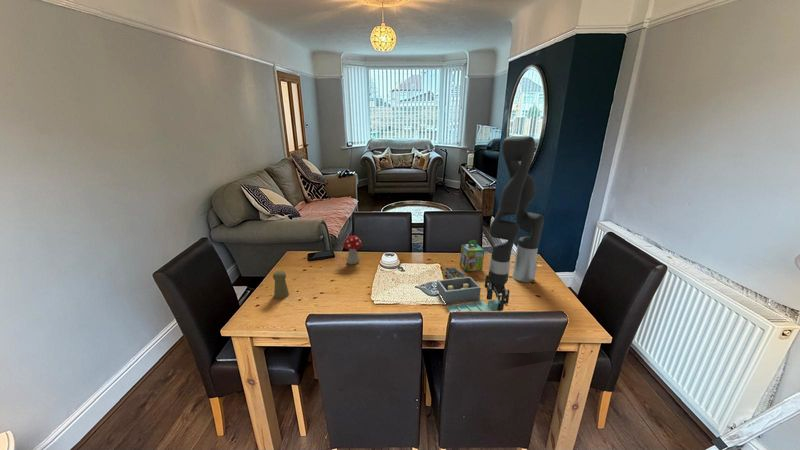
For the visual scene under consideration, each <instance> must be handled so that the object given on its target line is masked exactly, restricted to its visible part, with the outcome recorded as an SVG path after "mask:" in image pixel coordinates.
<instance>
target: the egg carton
mask: <svg viewBox="0 0 800 450" xmlns="http://www.w3.org/2000/svg"><path fill="white" fill-rule="evenodd" d="M443 269H444V276H447V279H454V278H463V277H465V276H466V272H464V271H462V270H460V269H458V268H457V267H455V266H454V267H453V266H451V267H450V266H449V267H443ZM455 275H456V276H455ZM457 276H458V277H457Z"/></svg>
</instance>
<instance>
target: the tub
mask: <svg viewBox="0 0 800 450" xmlns="http://www.w3.org/2000/svg"><path fill="white" fill-rule="evenodd" d="M437 290H438V291H439V293H440V295H441V296H442V298H443V300H444V301H445V303H446V304H445V305H451V304H452V305H453V304H457V303H458V304H460V303H468V302H472V301H473V302H475V301H481V300H480V298H481V290H482V287H481V285H479V284H478V283H477V282H476V281H475V280H474V279H473V278H472V277H471V276H464V277H463V278H457V277H456V278H454V279H449V278H447V279H439V280H436V291H437Z"/></svg>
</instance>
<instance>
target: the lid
mask: <svg viewBox="0 0 800 450" xmlns="http://www.w3.org/2000/svg"><path fill="white" fill-rule="evenodd" d="M497 307H498V298H497V299H491V300H487V303H486V302H485V301H484V300H477V301H473V302H472V301H470V302H463V303H458V304H457V303H454V304H452V305H451V304H449V305H446V306H445V308H446V309H447V311H448V310H449V311H450V312H453V311H454V312H456V311H461V312H462V311H493V312H497V311H498V310H497ZM449 311H448V312H449ZM450 312H449V313H450ZM498 312H499V311H498Z"/></svg>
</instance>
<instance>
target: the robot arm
mask: <svg viewBox="0 0 800 450" xmlns="http://www.w3.org/2000/svg"><path fill="white" fill-rule="evenodd" d="M535 150H536V142H535V139H534V137H533V136H530V135H524V136H522V135H521V136H507V137H506V138H504V139H503V143H502V156H503V161H504V162H505V163H504V164H505V166H506V169H507V173H508V176H509V181H508V182H507V183H506V185H505V186H504V187H503V189H502V191H501V195H500V199H499V200H500V201H499V206H498V209H497V211H496V214H495V216H494V219H493V220H492V222H491V224H490V227H489V233H490V236H491V237H492V238H495V239H501V240H506V241H505V242H496V243H494V244H493V245H492V250H491V257H490V261H489V266H488V267H489V269H488V274H486V275H485V280H484V288H485V289H486V300H487V301H490V300H493V294H494V293H495V297H496V298H497V299H498V307H497V310H498V312H501V311H502V312H503V311H504V307H505V305H507V304H509V298H510V289H506V288H505V287H506V284H507V282H508V281H509V274H510V266H511V256H512V250H513V248H514V247H513V246H514V244H515V242H516V240H517V238H518V236H519V233H520V231H521V232H527V233H528V234H529V233H530V235H529V236H520V237H519V238H518V240H517V245H516V252H515V258H514V259H515V260H514V266H513V271H512V277H513V279H514V280H516V281H519V282H520V283H521V282H522V283H530V282H532V281H533V280H535V278H536V271H537V265H538V261H537V255H538V249H539V244H540V241H541V235H542V231H543V227H544V222H545V218H544V216H543V215H542V214H540V213H535V212H529V211H528V210H527V207H528V206H529V205H530V204H531V203H532V202H533V200H534V199H535V197H536V194H537V193H536V186H535V181H534V178H533V177H532V176H531V175H530V174H529V172H530V167H531V165H532V162H533V159H534V155H535ZM509 216H511V217H512V216H515V217H516V222H515V221H508V220H503V218H505V217H509Z"/></svg>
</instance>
